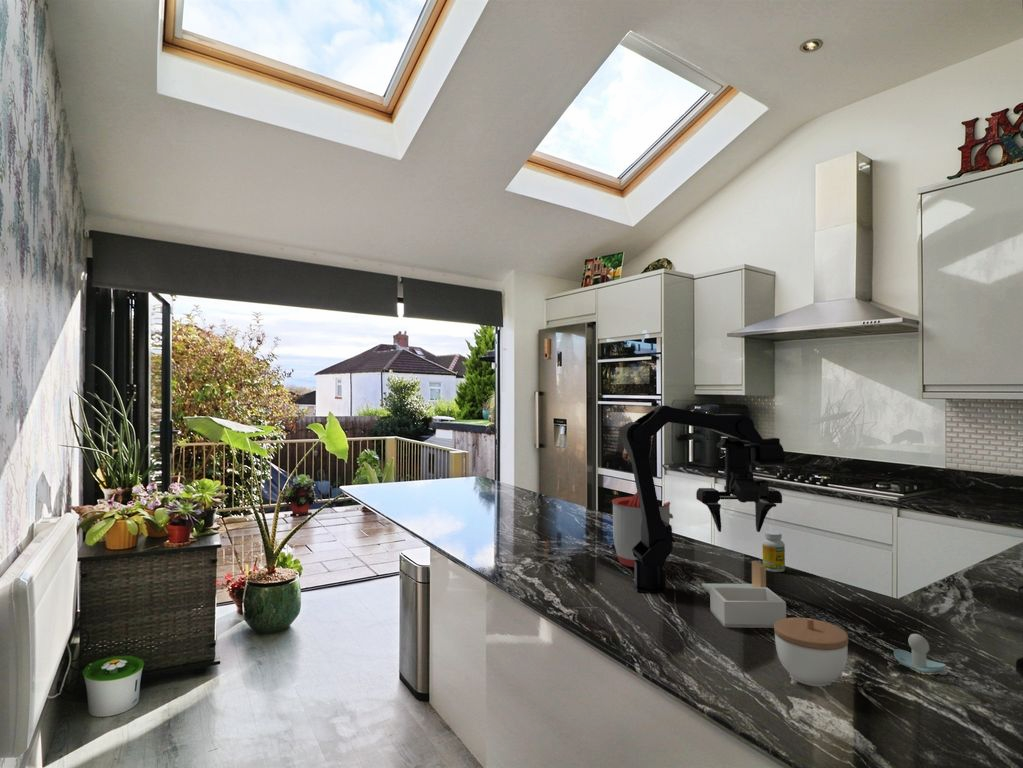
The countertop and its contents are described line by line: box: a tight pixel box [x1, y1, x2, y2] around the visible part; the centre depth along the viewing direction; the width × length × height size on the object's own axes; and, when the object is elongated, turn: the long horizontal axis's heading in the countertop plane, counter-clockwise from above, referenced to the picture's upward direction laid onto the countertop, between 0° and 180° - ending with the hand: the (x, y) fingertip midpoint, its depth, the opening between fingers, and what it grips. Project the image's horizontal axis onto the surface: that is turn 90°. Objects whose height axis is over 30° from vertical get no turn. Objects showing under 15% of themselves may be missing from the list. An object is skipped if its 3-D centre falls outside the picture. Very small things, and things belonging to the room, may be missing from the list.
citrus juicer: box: [611, 492, 674, 568], centre depth 161 cm, size 16×17×20 cm
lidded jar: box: [773, 617, 849, 688], centre depth 95 cm, size 11×11×9 cm
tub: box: [709, 586, 787, 629], centre depth 120 cm, size 12×9×5 cm
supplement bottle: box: [761, 530, 786, 573], centre depth 155 cm, size 5×5×10 cm
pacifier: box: [893, 633, 948, 676], centre depth 98 cm, size 7×6×6 cm
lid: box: [701, 560, 767, 595], centre depth 133 cm, size 12×9×8 cm
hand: (738, 531), depth 141 cm, fingers open, 9 cm apart
